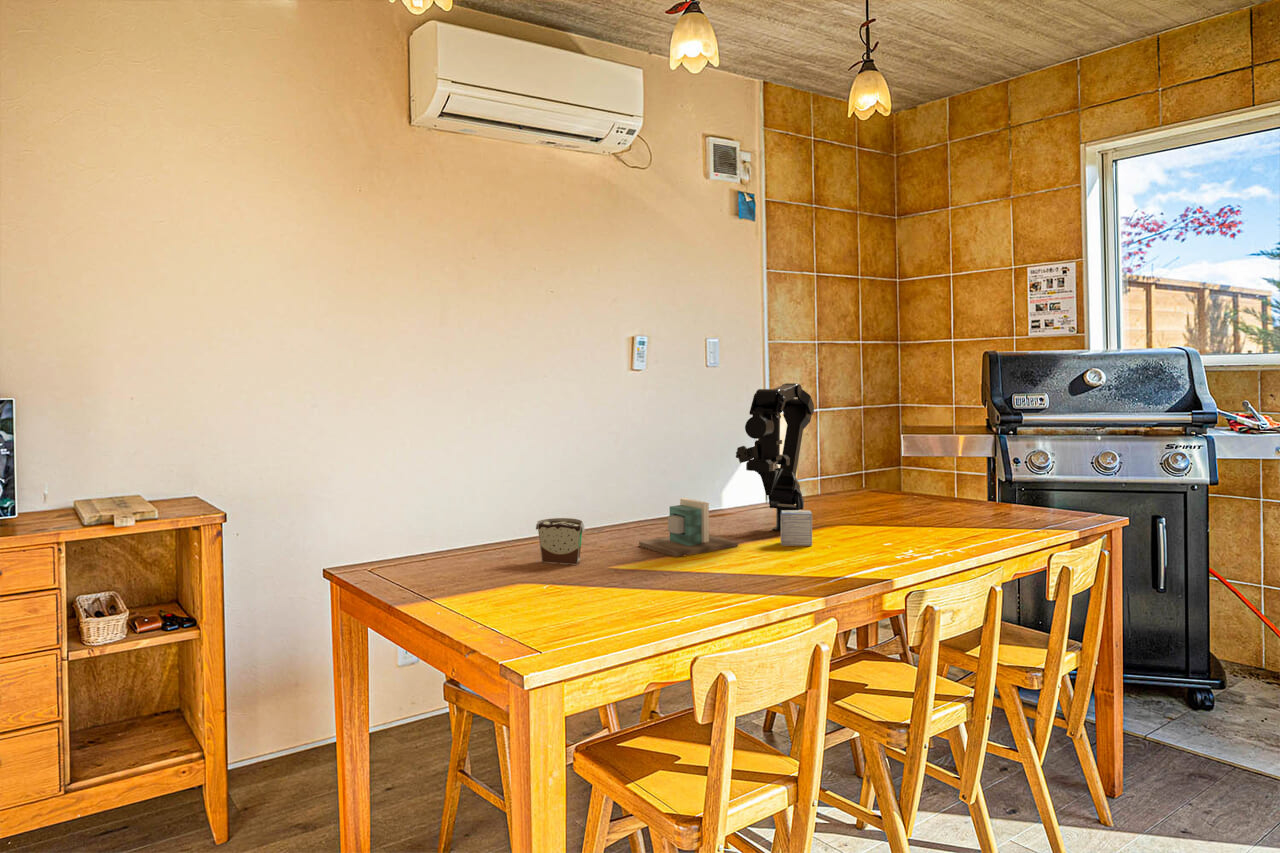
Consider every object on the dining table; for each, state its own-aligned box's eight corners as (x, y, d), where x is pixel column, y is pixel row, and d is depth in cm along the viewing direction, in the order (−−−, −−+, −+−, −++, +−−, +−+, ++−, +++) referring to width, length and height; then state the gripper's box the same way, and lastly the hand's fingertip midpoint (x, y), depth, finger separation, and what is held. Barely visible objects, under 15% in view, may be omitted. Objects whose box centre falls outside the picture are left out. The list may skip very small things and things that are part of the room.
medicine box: (810, 542, 224) (810, 510, 223) (812, 546, 219) (812, 513, 219) (780, 542, 224) (780, 509, 224) (781, 546, 220) (781, 512, 219)
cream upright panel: (684, 535, 226) (684, 498, 225) (708, 541, 218) (708, 502, 217) (661, 539, 222) (660, 501, 221) (684, 545, 214) (684, 506, 213)
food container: (593, 559, 207) (592, 519, 206) (583, 565, 201) (582, 523, 200) (547, 556, 211) (546, 516, 210) (536, 562, 205) (535, 521, 205)
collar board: (699, 536, 233) (699, 499, 232) (738, 546, 220) (738, 507, 219) (639, 546, 222) (638, 507, 221) (676, 557, 209) (675, 516, 208)
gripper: (752, 433, 237) (751, 489, 238) (727, 437, 221) (727, 497, 222) (790, 434, 232) (790, 491, 233) (768, 439, 216) (768, 500, 217)
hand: (768, 495), depth 226 cm, fingers closed
